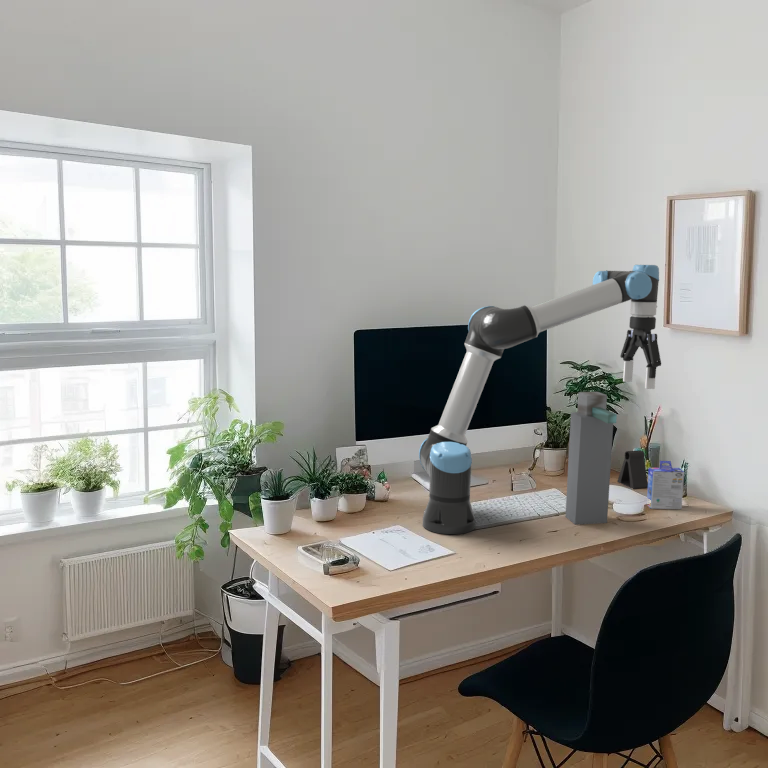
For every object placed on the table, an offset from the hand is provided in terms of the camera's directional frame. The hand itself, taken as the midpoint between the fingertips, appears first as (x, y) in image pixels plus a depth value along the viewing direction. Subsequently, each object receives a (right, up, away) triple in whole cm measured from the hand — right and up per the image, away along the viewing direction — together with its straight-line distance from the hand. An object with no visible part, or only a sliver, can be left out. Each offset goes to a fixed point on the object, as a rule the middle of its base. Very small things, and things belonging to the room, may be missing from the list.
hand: (638, 385), depth 241 cm
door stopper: (+7, -35, +29) cm, 46 cm away
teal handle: (-17, -9, -18) cm, 26 cm away
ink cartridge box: (+10, -39, +5) cm, 40 cm away
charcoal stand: (-18, -40, -8) cm, 45 cm away
